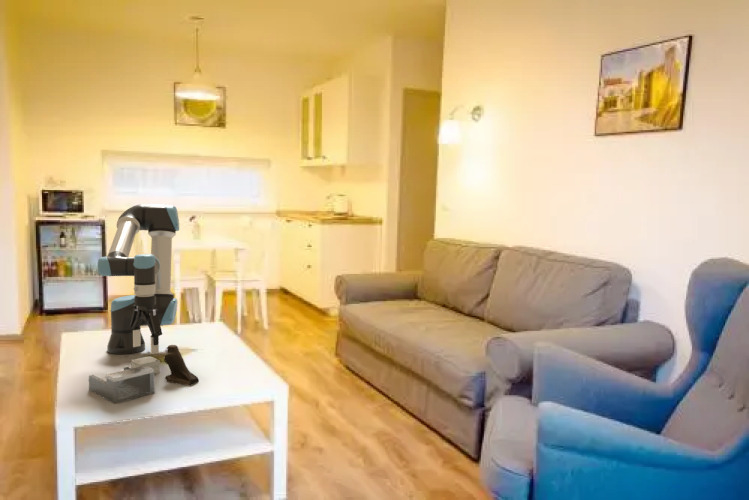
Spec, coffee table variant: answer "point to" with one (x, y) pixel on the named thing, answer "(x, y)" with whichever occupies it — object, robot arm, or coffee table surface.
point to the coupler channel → (124, 384)
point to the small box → (147, 363)
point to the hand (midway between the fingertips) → (145, 349)
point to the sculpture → (178, 368)
